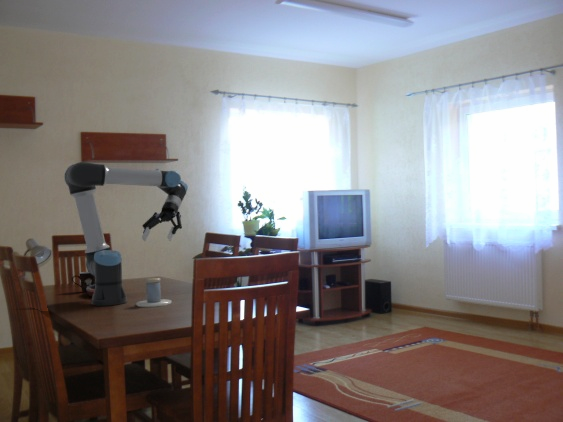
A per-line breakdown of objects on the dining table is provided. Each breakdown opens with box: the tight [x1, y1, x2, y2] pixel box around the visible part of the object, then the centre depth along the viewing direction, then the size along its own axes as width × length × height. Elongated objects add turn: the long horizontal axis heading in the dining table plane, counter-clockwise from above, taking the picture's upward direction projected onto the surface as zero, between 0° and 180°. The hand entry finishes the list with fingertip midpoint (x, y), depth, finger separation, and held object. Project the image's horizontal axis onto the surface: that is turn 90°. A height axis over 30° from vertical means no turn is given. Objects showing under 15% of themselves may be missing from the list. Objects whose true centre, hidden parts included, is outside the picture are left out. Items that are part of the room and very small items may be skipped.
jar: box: [145, 277, 162, 303], centre depth 265 cm, size 6×6×10 cm
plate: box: [135, 298, 172, 308], centre depth 265 cm, size 15×15×1 cm
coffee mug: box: [71, 271, 95, 293], centre depth 316 cm, size 12×9×10 cm
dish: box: [86, 284, 95, 297], centre depth 302 cm, size 16×31×5 cm, turn 17°
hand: (156, 239), depth 282 cm, fingers open, 13 cm apart
